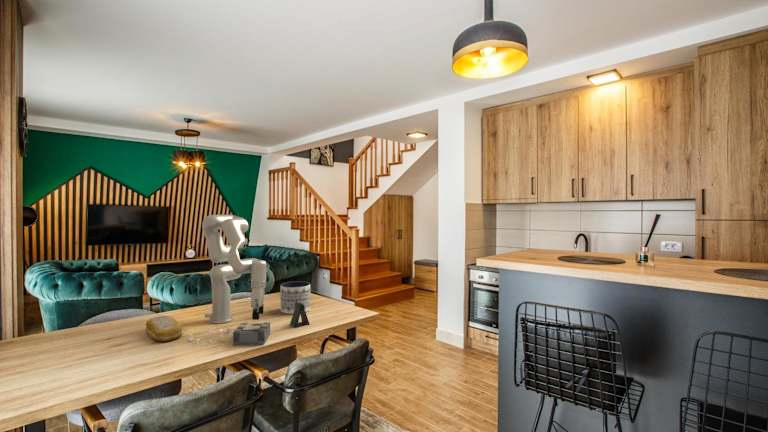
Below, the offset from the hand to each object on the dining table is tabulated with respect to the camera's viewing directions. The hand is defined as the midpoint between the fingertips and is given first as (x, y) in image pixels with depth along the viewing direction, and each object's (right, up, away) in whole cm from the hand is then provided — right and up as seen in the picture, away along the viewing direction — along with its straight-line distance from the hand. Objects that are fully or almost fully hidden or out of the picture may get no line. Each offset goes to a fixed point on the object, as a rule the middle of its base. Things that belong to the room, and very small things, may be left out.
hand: (258, 316), depth 192 cm
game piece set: (-20, -8, -10) cm, 24 cm away
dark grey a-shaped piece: (+20, -7, +9) cm, 23 cm away
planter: (+11, -7, +37) cm, 39 cm away
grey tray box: (+2, -6, -14) cm, 15 cm away
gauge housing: (+2, -7, -14) cm, 16 cm away
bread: (-45, -8, -8) cm, 46 cm away
